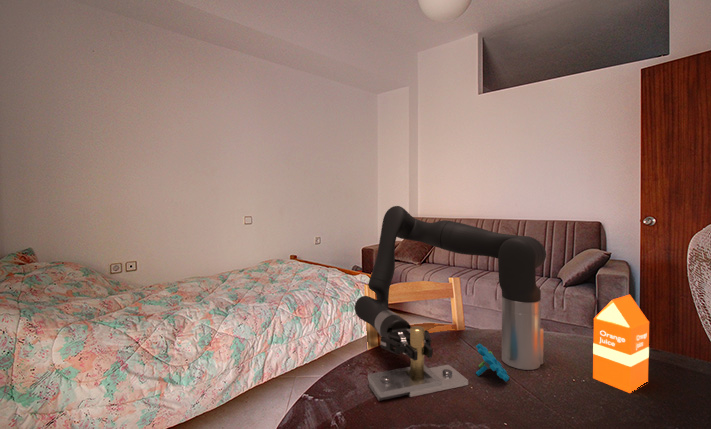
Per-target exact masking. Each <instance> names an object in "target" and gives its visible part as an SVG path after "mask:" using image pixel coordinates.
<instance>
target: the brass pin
mask: <svg viewBox="0 0 711 429" xmlns="http://www.w3.org/2000/svg"><path fill="white" fill-rule="evenodd" d="M424 331H425V328H424V327H423V326H419V325H416V326H411V328H410V345H411V346H412V347H413V348H414V349H415V350H417V353H418V359H417V360H415V361H414V360H413V359H411V358H410V360H409V362H410V365H409V367H410V379H411V380H412V381H413V382H414V381H419V380H424V364H425V355H424Z"/></svg>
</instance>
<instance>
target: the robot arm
mask: <svg viewBox="0 0 711 429" xmlns="http://www.w3.org/2000/svg"><path fill="white" fill-rule="evenodd" d="M380 230H381V231H380V236H379V242H378V248H377V254H376V258H375V260H374V261H375V263H374V265H373V268H372V271H371V275H370V277H369V280H368V284H367V286H369V287H368V288H369V289H370V290H371V291H372V292H373V291H374V292H375V293H376V294H375V293H374V294H375V296H376V298H373V297H372V296H371V297H370V296H369V295H363V296H362V295H361V296H360V297H359V298H357V300H356V302H355V304H354V311H355V314H356V316H357V317H358V318H359V319H361V320H362V321H363V322H365V323H367V324H369V325H370V326H372V327H373V329H375V331H376V332H377V334H378V335H379V336H380V349H383V350H385V351H388V352H389V353H392V354H395V355H397V356H398V355H401V353H402V354H403V355H406V356H407V357H408V358H411V359H413V360H414V361H415V360H417V359H418V353H417V350H415V349H414V348H413V347H412V346H411V345H410V328H411V327H412V326H411V324H410V323H409V322H408V321H407V320H405V319H404V318H403V317H402V316H400V315H399V314H397V313H396V312H393V311H392V310H390V308H389V299H390V298H389V295H390V287H391V284H392V282H393V281H392V280H393V277H394V274H395V270H396V269H395V268H396V259H395V258H396V256H395V255H396V254H395V253H396V252H395V251H396V240H397V238H399V239H402V240H406V241H408V240H409V241H413V242H419V243H424V244H427V245H429V246H432V247H436V248H438V249H441V250H444V251H448V252H452V253H455V254H460V255H469V256H478V257H480V256H482V257H489V258H494V259H497V263H498V264H497V266H498V267H497V268H498V270H497V272H498V283H499V287H500V290H501V361H502V362H503V363H505V365H507V366H509V367H512V368H515V369H518V370H525V371H527V370H528V371H531V370H536V369H539V368H540V367H541V365H543V364H544V327H542V325H541V324H542V322H541V321H542V320H541V306H542V305H541V304H542V302H541V300H542V296H541V295H542V291H541V289H540V288H539V286H538V285H537V282H536V281H537V280H536V279H537V278H536V277H537V276H536V273H537V272H536V271H537V270H536V269H538V268H539V267H541V266H542V265H543V264H544V262H545V260H546V259H547V258H546V257H547V251H546V249H545V247H544V245H543V243H541V242H540V241H539V240H538V239H536V238H534V237H532V236H529V235H528V236H527V235H526V236H525V235H518V234H517V235H516V234H508V233H507V234H506V233H502V232H501V233H500V232H494V231H491V230H488V229H484V228H481V227H477V226H474V225H471V224H466V223H463V222H459V221H458V222H457V221H452V220H443V219H442V220H438V221H434V222H427V221H424V220H420V219H417V218H416V217H414V216H412V215H411V214H410V213H409V212H408V211H407V210H406V208H403V207H402V206H400V205H393V206H392V207H390V208H389V209H387V211H385V214H384V216H383V218H382V224H381V229H380ZM431 342H432V339H431V335H430V331H429V330H427V329H424V356H425V357H427V359H431V358H432V357H433V353H434V351H433V350H434V349H433V348H432V346H431Z"/></svg>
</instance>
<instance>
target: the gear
mask: <svg viewBox="0 0 711 429" xmlns="http://www.w3.org/2000/svg"><path fill="white" fill-rule="evenodd" d="M475 348H476V349H477V352H478V353H479V355H481V356H482V360H483V361H482V362H481V363H480V364H478V367H479V368H480V369H478V370H477V371H475V374H476V375H477V376H478V377H480V375H482V374H483V373H484V372H486V370H490V369H491V370H492V371H493V372H496V375H497V376H498V377H499V379H502V380H503V381H504V382H508V381H509V380H510V376H509V375H508V371H507V370H506V369H505V368H503V365H502V363H501V362H500V361H499V360H497V358H496V356H494V353H493V352H492V351H491V350H488V348H487V347H486V346H484V345H483V344H481V343H478V344H477V345H475Z"/></svg>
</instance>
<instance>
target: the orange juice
mask: <svg viewBox="0 0 711 429" xmlns="http://www.w3.org/2000/svg"><path fill="white" fill-rule="evenodd" d="M649 344H650V321H649V320H648V319H647V317H646V315H645V314H644V313H643V311H642V310H641V308H640V307H639V305H638V304H637V302H636V301H635V299H634V298H633V297H632V295H631V294H626V295H624V296H620V297H618V298H613V299H612V300H611V301H609V303H608V304H607V305H606V306H604V307H603V309H602V310H601V311H600V312H599V313H597V315H596V316H595V317H594V318H593V344H592V346H593V347H592V354H593V357H592V378H593V380H597V381H598V382H601V383H604V384H607V385H608V386H611V387H613V388H616V389H619V390H621V391H623V392H626V393H628V394H631V393H633V392H634V390H635V391H637V390H638V389H639V388H638V387H640V386H641V385H643V384H644V383H646V382H648V383H649V356H650V345H649ZM643 386H644V385H643ZM641 387H642V386H641ZM641 387H640V388H641ZM637 388H638V389H637ZM632 391H633V392H632Z"/></svg>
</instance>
